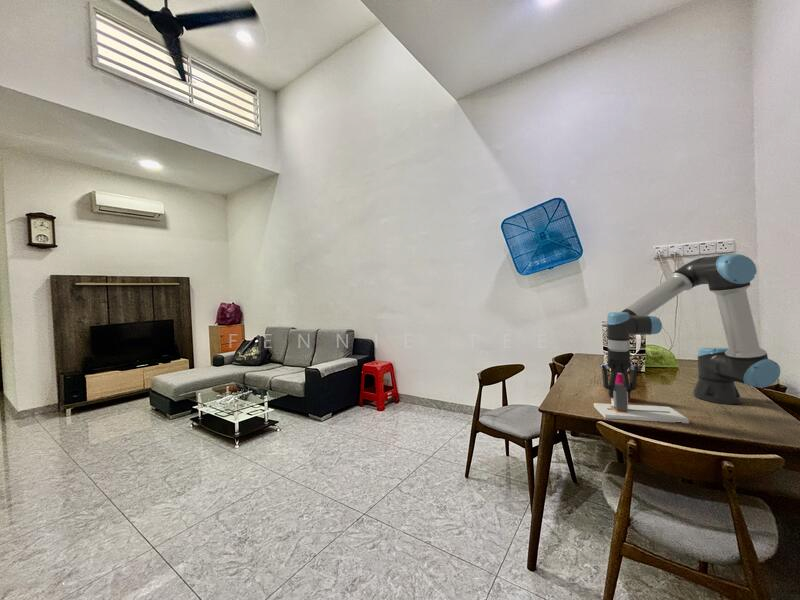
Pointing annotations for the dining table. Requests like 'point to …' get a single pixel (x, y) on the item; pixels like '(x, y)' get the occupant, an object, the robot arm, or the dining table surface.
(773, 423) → the dining table surface
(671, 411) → the plate
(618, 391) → the fader knob
